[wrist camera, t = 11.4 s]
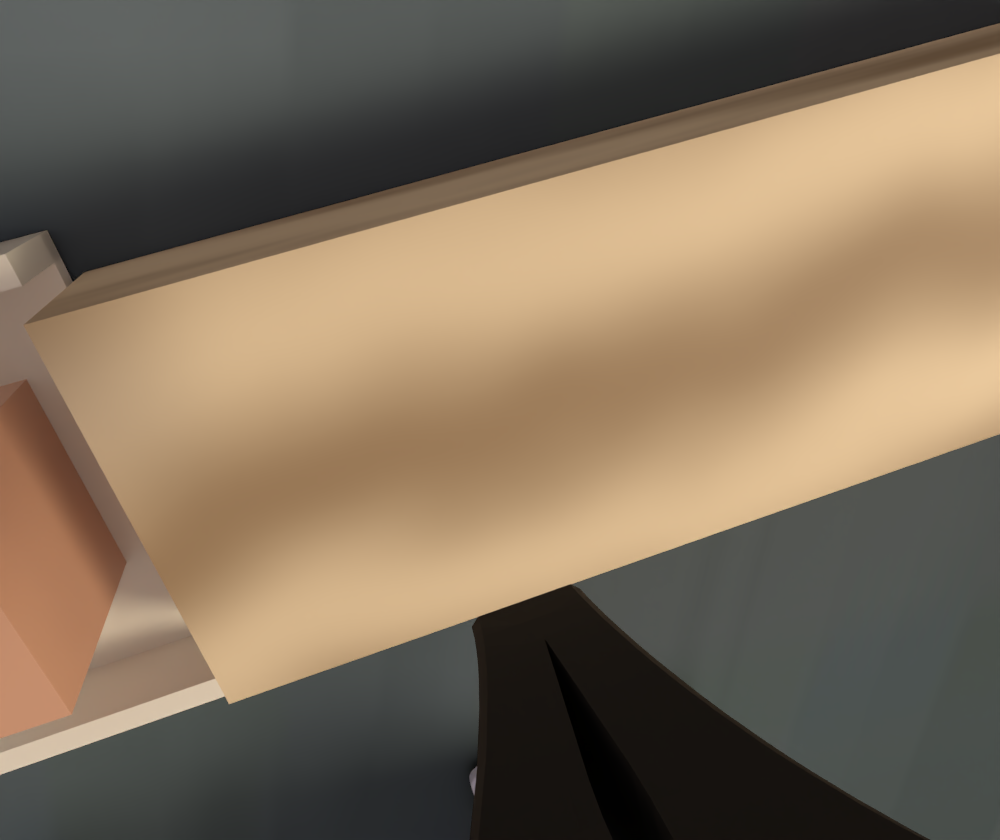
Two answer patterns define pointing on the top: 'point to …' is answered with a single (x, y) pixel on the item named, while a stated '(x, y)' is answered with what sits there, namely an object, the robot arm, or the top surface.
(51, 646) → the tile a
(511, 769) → the robot arm
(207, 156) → the top surface
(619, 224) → the board
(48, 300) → the tray
